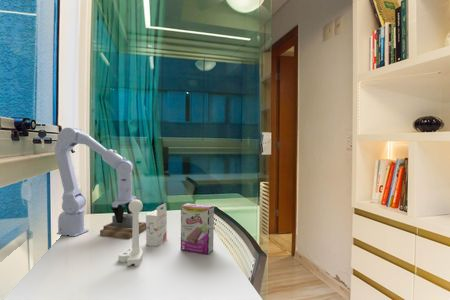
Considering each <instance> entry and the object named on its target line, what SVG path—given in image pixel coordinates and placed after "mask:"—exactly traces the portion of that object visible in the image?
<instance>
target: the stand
mask: <svg viewBox="0 0 450 300" xmlns="http://www.w3.org/2000/svg"><path fill="white" fill-rule="evenodd" d="M132 229H133V228H124V227H115V226H112V222H110V223H108V224H106V225H103V229H100V230H99V235H100V236H105V237H111V238H112V237H113V238H120V239H121V238H122V239H129V240H130V239H132ZM144 231H146V221H144V222H143V221H139V234H140V233H143V232H144Z"/></svg>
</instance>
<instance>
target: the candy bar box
mask: <svg viewBox="0 0 450 300" xmlns="http://www.w3.org/2000/svg"><path fill="white" fill-rule="evenodd" d="M214 218H215V206H214V205H210V204H209V205H208V204H197V203H192V202H191V203H188V202H187V203H184V204H182V205H181V207H180V251H184V252H191V253H197V254H204V255H210V253H211V252H213V251H214V232H215V230H214V228H215V227H214V226H215V225H214V222H215V220H214Z"/></svg>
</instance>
